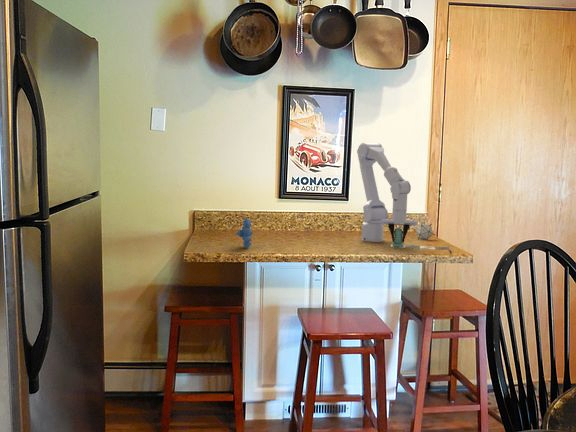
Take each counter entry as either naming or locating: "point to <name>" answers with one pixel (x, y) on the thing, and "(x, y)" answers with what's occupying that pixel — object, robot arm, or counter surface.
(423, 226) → the grey spiky ball
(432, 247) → the board
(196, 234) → the counter surface
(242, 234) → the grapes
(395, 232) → the pawn
